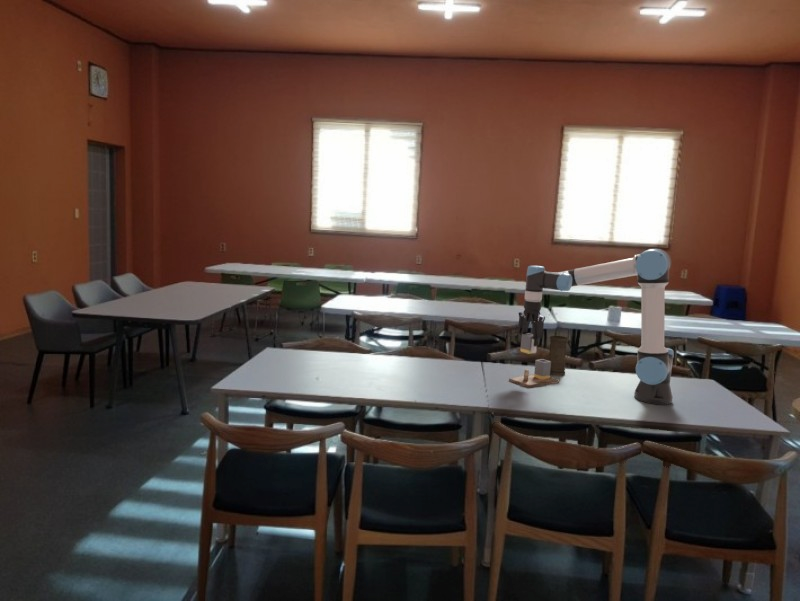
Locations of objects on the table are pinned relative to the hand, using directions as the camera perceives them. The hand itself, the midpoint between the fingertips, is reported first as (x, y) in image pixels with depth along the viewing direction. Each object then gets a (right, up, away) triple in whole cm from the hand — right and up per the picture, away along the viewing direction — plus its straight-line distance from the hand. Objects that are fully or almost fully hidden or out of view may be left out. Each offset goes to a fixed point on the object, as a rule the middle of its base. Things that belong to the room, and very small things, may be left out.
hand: (528, 351), depth 268 cm
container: (+18, -13, +23) cm, 32 cm away
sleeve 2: (+8, -13, +9) cm, 17 cm away
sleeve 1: (0, 0, 0) cm, 0 cm away
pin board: (+4, -14, +6) cm, 16 cm away
